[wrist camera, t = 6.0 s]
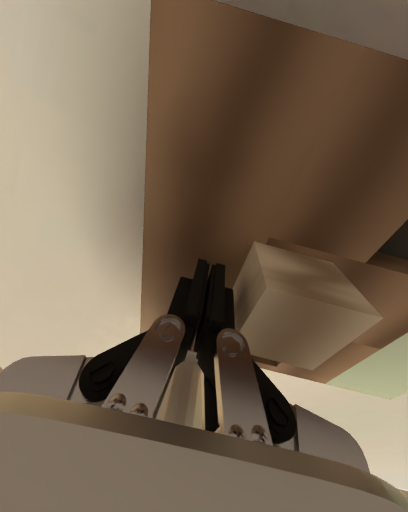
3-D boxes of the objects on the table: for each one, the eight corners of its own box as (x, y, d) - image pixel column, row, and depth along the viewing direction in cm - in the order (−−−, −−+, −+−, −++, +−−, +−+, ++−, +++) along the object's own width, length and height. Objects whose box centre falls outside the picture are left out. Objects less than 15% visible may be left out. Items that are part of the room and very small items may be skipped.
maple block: (332, 262, 10) (383, 318, 7) (290, 313, 13) (312, 370, 10) (254, 241, 10) (266, 287, 7) (228, 296, 13) (228, 349, 10)
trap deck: (563, 149, 9) (701, 150, 6) (313, 355, 21) (324, 383, 18) (175, 33, 8) (151, -19, 6) (150, 314, 20) (139, 338, 18)
